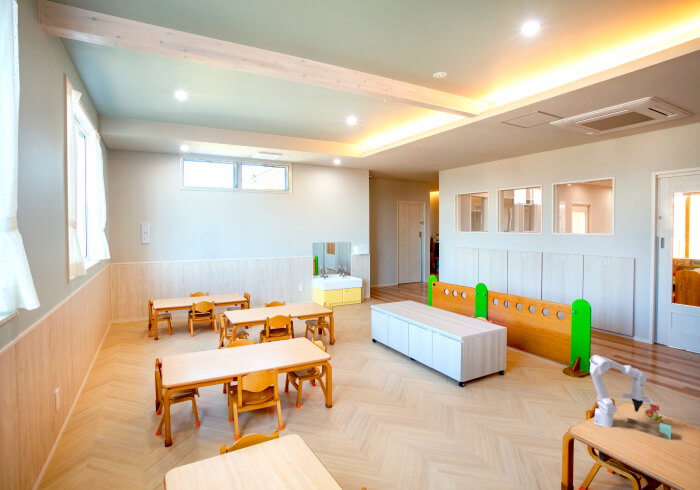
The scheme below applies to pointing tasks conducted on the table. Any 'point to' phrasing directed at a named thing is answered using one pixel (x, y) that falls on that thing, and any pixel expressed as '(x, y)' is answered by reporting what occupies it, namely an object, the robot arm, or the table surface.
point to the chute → (645, 428)
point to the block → (665, 430)
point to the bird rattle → (650, 413)
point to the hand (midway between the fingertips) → (636, 410)
